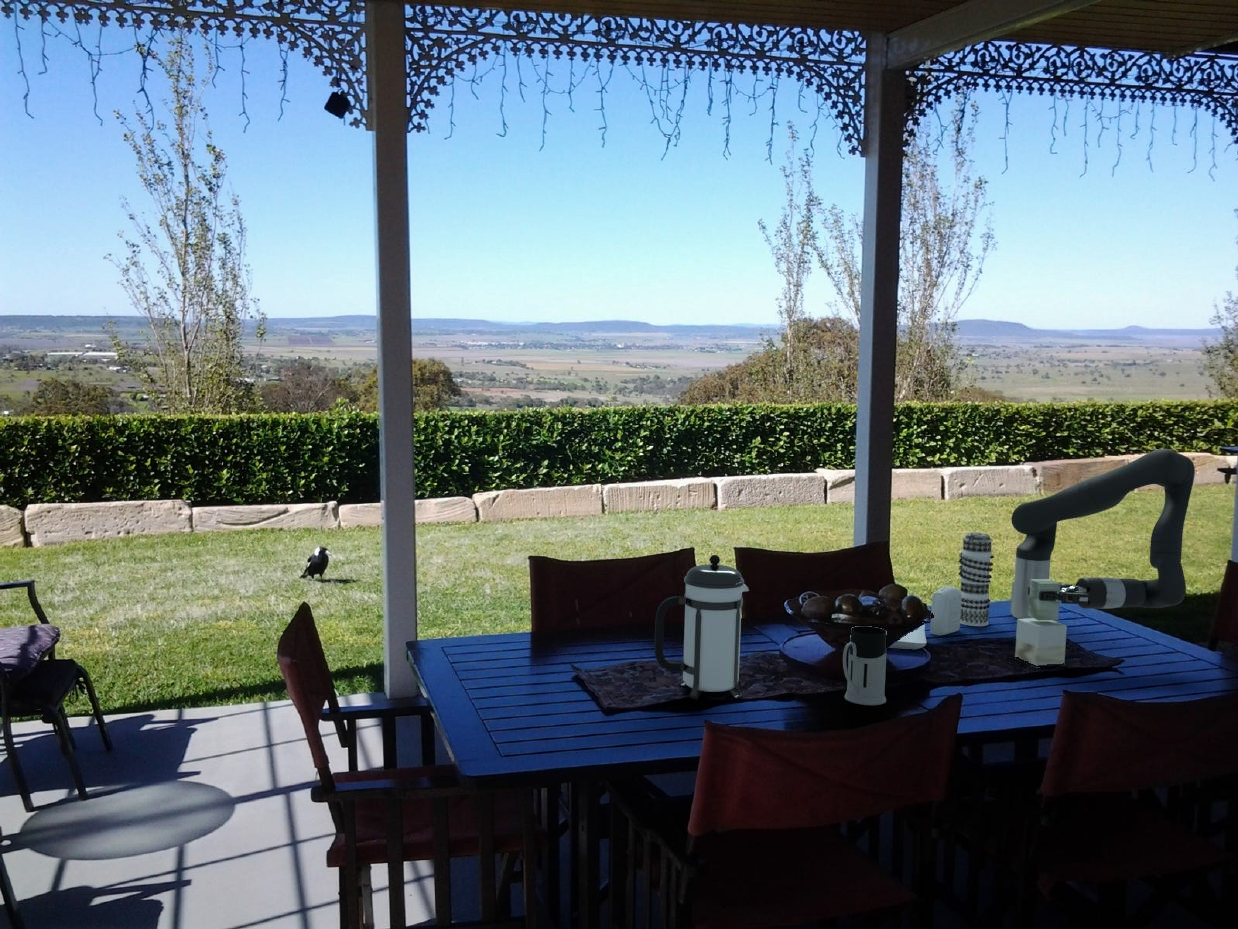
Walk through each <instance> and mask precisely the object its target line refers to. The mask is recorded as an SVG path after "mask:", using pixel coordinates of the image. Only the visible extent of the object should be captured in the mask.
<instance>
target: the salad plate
mask: <svg viewBox="0 0 1238 929" xmlns="http://www.w3.org/2000/svg"><path fill="white" fill-rule="evenodd" d="M925 628H926V624H925V623H924V625H922V626H920V627H919V628H918V629H917V630H914V631H913V632H910V633H908V634H907V635H906V636H904V637H902V638H901V639H900V640H898V641H897V642H896V643H894V644H893V646H892V647H890V648H902V649H912V650H918V649H921V648H924V647H925V646H926V645H927V638H926V629H925Z"/></svg>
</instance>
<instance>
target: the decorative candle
mask: <svg viewBox="0 0 1238 929" xmlns="http://www.w3.org/2000/svg"><path fill="white" fill-rule="evenodd" d="M962 541H963V542H962V549H961V550H962V551H961V552H959V556H958V557H959V560H958V562H959V563H960V565H959V566H958V568H959V570H960V571H959V573H958V575H959V579H958V581H960V589H959V590H960V592H961V595H962V598H961V614H960V625H963V626H964V625H965V626H969V627H985V626H986V627H987V626H988V625H989V621H990V620H989V619H990V617H989V615H990V613H991V612H990V610H989V608H990V606H991V605H990V604H989V603H990V601H991V599H990V590H989V589H990V584H992V581H991V579H992V577H993V576H992V575H991V574H990V572H992V571H993V570H994V569H993V567H992V566H994V562H992V561H991V560H992V559H994V558H995V556H994V555H993V551H992V542H994V540H993V539H992V538H991V536H990V535H989V534H988V533H984V532H968V533H966V535H965V537H962Z"/></svg>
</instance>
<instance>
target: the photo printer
mask: <svg viewBox="0 0 1238 929" xmlns="http://www.w3.org/2000/svg"><path fill="white" fill-rule="evenodd" d="M960 590H961V589H960V588H958V587H955V586H949V585H948V586H944V587H942V588H939V589H937V590H936V591H935V592H934V593H933V594H932V598H931V611H930V612H931V613H933V615H934V618H932V619H931V618H930V626H929V627H930V629H929V631H930V633H931V634H932V635H934V636H944V635H948V634H952V633H955V632H958V631H959V630H961V629H960V628H961V624H960V614H961V598H962V595H961V592H960ZM931 613H930V614H931Z"/></svg>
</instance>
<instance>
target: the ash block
mask: <svg viewBox="0 0 1238 929" xmlns="http://www.w3.org/2000/svg"><path fill="white" fill-rule="evenodd" d="M1015 639H1016V638H1015ZM1014 652H1015V654H1014V658H1015V657H1019V658H1020V659H1022V660H1024V661H1028V662H1029V663H1031V664H1034V665H1036V666H1038V665H1047V664H1063V663H1064V664H1065V658H1066V645H1065V646H1052V647H1039V648H1038V647H1035V646H1033V645H1030V644H1028V643H1025V642H1022V641H1020V640H1017V639H1016V640H1015V651H1014Z"/></svg>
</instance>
